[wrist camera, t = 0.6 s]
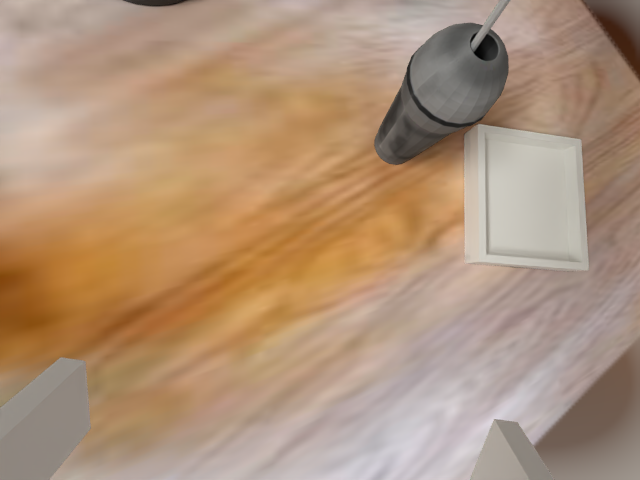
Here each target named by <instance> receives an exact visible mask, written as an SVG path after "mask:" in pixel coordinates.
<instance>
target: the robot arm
mask: <svg viewBox="0 0 640 480" xmlns="http://www.w3.org/2000/svg"><path fill="white" fill-rule="evenodd" d="M125 1H128V2H132V3H136V4H143V5H166V4H172V3H176V2H180V1H183V0H125ZM90 429H91V426H90V414H89V401H88V389H87V376H86V364H85V361H82V360H74V359H67V358H59V359H58V360H57V361H56V362H55V363H53V364H52V365H51V366H50V367H49V368H47V369H46V370H45V371H44V372H43V373H41V374H40V375H39V376H38V377H37V378H35V379H34V380H33V381H32V382H31V383H29V384H28V385H27V386H26V387H25V388H23V389H22V390H21V391H20V392H19V393H17V394H16V395H15V396H14V397H13V398H11V399H10V400H9V401H8V402H7V403H5V404H4V405H3V406H2V407H1V408H0V480H49V479H50V478H51V477H52V476H53V474H54V473H55V472H56V471H57V469H58V468H59V467H60V466H61V465H62V463H63V462H64V461H65V460H66V458H67V457H68V456H69V455H70V453H71V452H72V451H73V450H74V448H75V447H76V446H77V445H78V443H79V442H80V441H81V440H82V439H83V437H84V436H85V435H86V434H87V432H88V431H89V430H90ZM470 480H555V479H554V477H553V476H552V474H551V473H550V471H549V470H548V468H547V467H546V465H545V464H544V462H543V461H542V459H541V458H540V456H539V455H538V453H537V452H536V450H535V448H534V447H533V445H532V444H531V442H530V441H529V439H528V438H527V436H526V435H525V433H524V432H523V430H522V429H521V427H520V426H519V424H518V423H517V422H511V421H504V420H497V419H494V421H493V423H492V426H491V428H490V431H489V433H488V436H487V438H486V441H485V443H484V445H483V448H482V450H481V453H480V455H479V458H478V460H477V463H476V465H475V468H474V470H473V473H472V475H471V478H470Z"/></svg>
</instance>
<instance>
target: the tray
mask: <svg viewBox="0 0 640 480" xmlns="http://www.w3.org/2000/svg"><path fill="white" fill-rule="evenodd" d="M464 214H465V263H467V264H480V265H493V266H506V267H518V268H531V269H544V270H556V271H588V270H589V261H588V245H587V228H586V211H585V194H584V178H583V161H582V144H581V139H575V138H569V137H562V136H555V135H549V134H542V133H536V132H529V131H522V130H516V129H509V128H502V127H496V126H489V125H483V124H477V125H476V126H474V127H473V128H472V129H470V130H469V131H468V132H466V133H465V134H464Z"/></svg>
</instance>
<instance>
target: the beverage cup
mask: <svg viewBox="0 0 640 480" xmlns="http://www.w3.org/2000/svg"><path fill="white" fill-rule="evenodd" d="M509 1H510V0H500V1H499V2H498V4H497V5H496V7H495V8H494V10H493V11H492V13H491V14H490V16H489V17H488V19H487V20H486V22H485V23H484V25H479V24H475V23H463V24H455V25H452V26H449V27H447V28H445V29H443V30H441V31H439V32H437V33H436V34H434V35H433V36H432V37H431V38H429V39H428V40H427V41H426V43H425V44H423V45H422V46H421V47H420V48H419V49H418V50H417V51H416V52H415V53H414V54H413V55H412V57H411V59H410V62H409V65H408V67H407V72H406V75H405V77H404V80H403V83H402V86H401V88H400V90H399V92H398V94H397V95H396V97H395V99H394V101H393V103H392V105H391V107H390V109H389V111H388V112H387V114H386V116H385V118H384V120H383V122H382V124H381V126H380V128H379V131H378V133H377V135H376V138H375V145H374V146H375V149H376V152H377V154H378V155H379V157H380V158H381V159H382V160H384V161H385V162H387V163H389V164H395V165H397V164H402V163H404V162H406V161H407V160H410V159H411V158H413V157H415V156H416V155H418V154H419V153H421V152H422V151H424V150H426V149H427V148H429V147H430V146H432V145H433V144H435V143H437V142H438V141H440V140H441V139H443V138H444V137H446V136H447V135H449V134H451V133H453V132H456V131H458V130H460V129H463V128H464V127H466V126H471V125H473V124H474V123H476V122H478V121H480V120H481V119H482V118H483V117H484V116H485V114H486V113H487V112H488V111H489V109H490V108H491V107H492V105H493V104H494V103H495V102H496V100H497V99H498V98H499V96H500V95H501V93H502V91H503V88H504V85H505V82H506V79H507V75H508V55H507V51H506V48H505V45H504V43H503V42H502V40H501V39H500V37H499V36H498V35H497V34H496V33H495V32H494V31H493V30H491V27H492V26H493V24H494V23H495V21H496V20H497V19H498V17H499V16H500V14H501V13H502V11H503V10H504V9H505V7H506V6H507V4H508V3H509Z"/></svg>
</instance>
